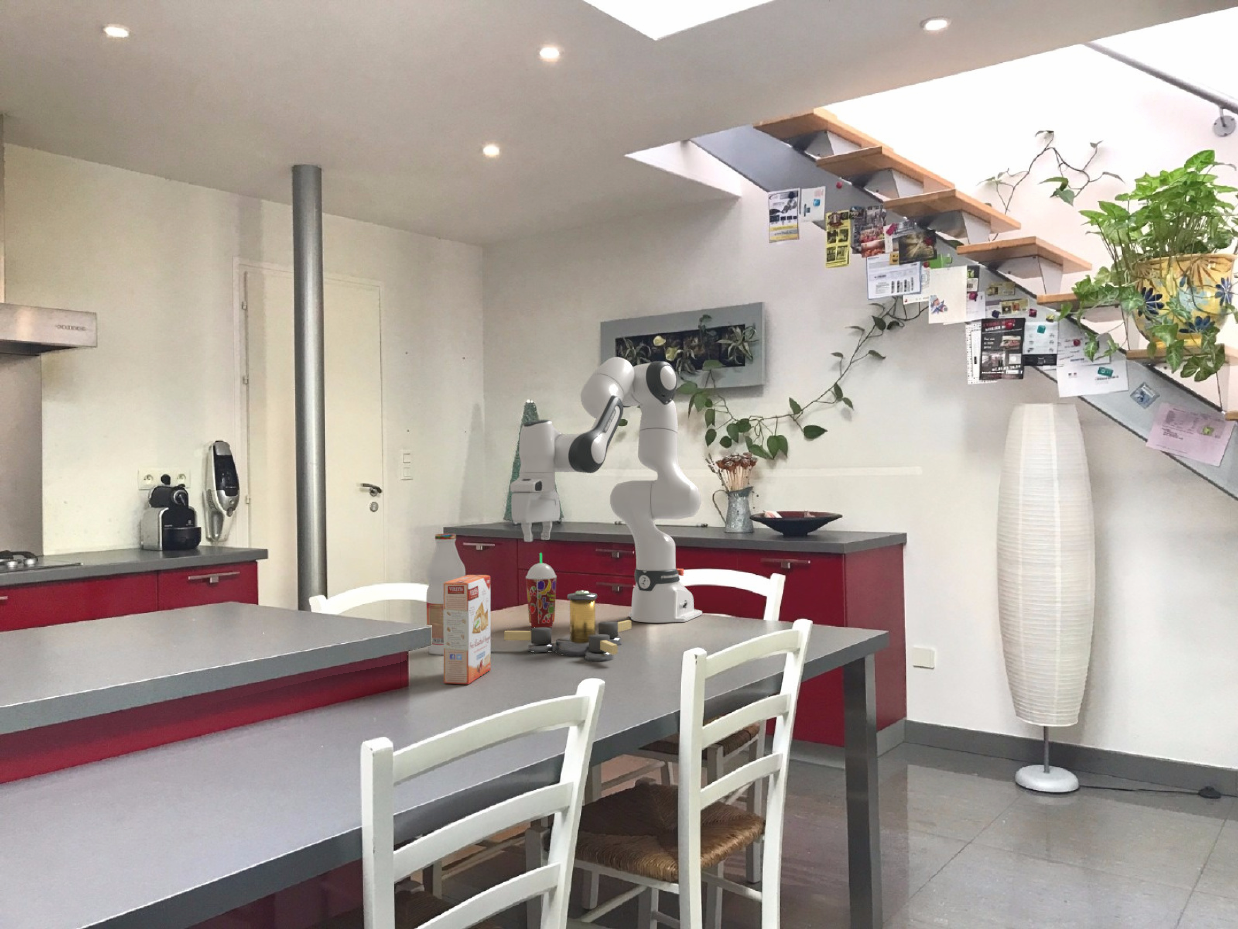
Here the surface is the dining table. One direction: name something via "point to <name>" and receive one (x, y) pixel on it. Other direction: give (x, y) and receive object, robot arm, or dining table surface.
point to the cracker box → (466, 628)
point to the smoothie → (541, 594)
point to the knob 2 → (602, 644)
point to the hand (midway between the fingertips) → (537, 540)
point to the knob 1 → (531, 635)
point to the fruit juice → (441, 585)
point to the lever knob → (613, 627)
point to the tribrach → (578, 630)
